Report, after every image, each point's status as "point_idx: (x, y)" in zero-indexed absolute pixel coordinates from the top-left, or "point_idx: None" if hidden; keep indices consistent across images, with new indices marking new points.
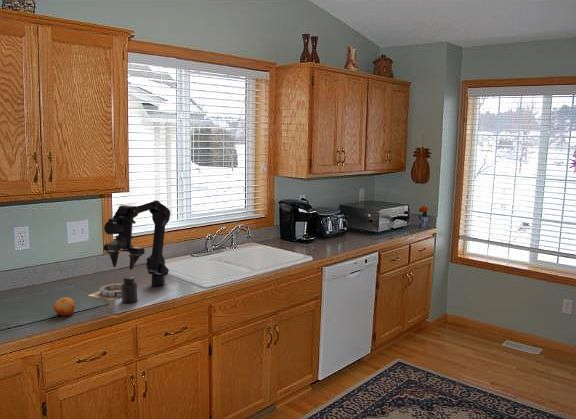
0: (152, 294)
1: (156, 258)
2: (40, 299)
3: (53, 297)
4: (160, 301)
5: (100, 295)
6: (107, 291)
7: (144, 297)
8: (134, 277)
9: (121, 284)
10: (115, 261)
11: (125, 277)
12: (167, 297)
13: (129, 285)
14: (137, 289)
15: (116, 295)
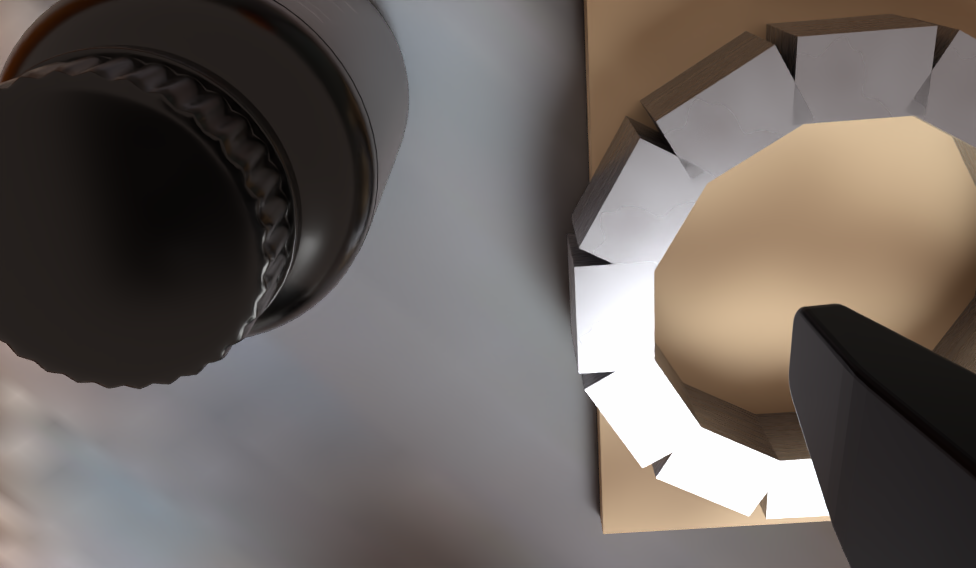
0: (342, 523)
1: None
2: None
3: None
4: (11, 387)
5: (946, 26)
6: (821, 73)
7: (326, 388)
8: (25, 349)
9: None
10: (906, 561)
11: (162, 173)
12: (88, 538)
13: (14, 71)
14: (622, 532)
15: (628, 124)
